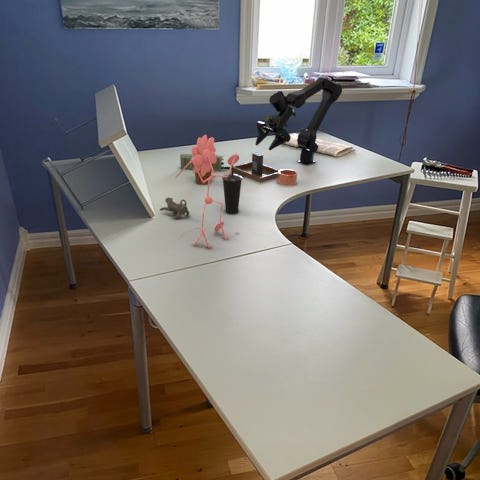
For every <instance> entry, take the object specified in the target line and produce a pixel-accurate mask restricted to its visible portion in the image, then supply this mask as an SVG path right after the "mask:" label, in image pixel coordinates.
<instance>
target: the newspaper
mask: <svg viewBox="0 0 480 480" xmlns="http://www.w3.org/2000/svg"><path fill="white" fill-rule="evenodd" d="M289 134H290V136H291V139H290V141H289V142H286V143H283V144H282V145H288V146H292V147H296V148H298V143H297V138H298V135H299V133H289ZM315 142H316V144H317V145H318V150H317V151H316V152H315V153H321V154H324V155H328V156H331V157H341V156H343V155H346V154H347V153H349V152H351V151H353V150H355V149H354V147H353V146H351V145H346V144H342V143H338V142H334V141H329V140H325V139H321V138H316V141H315Z"/></svg>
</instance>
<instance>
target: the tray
mask: <svg viewBox="0 0 480 480" xmlns="http://www.w3.org/2000/svg"><path fill="white" fill-rule="evenodd" d="M280 170H281V169H280ZM280 170H279V169H278V168H274V167H271V166H269V165H266V164H263V172H262V175H259V176H258V175H255V174H253V173H252V161H249V162H245V163H242V164H238V165H235V166H234V165H233V174H237V175H240V176H241V177H242V178H247V179H249V180H252V181H254V182H257V183H259V184H261V183H265V182H268V181H271V180H275V179H278V173H279V171H280Z"/></svg>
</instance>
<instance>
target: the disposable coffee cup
mask: <svg viewBox="0 0 480 480" xmlns="http://www.w3.org/2000/svg"><path fill="white" fill-rule="evenodd" d="M192 158H193V155H192ZM211 164H212V163H211ZM200 172H201V170H200V171H199V173H200ZM200 175H201V174H200ZM211 176H212V170H211V169H210V172H206V174H205V175H204V176H203V177H202V176H201V177H202V179H203V181H204V180H206V179H207V178H209V177H211ZM194 178H195V183H196V184H198V185H208V181H206V182H204V183H202V181H201V179H200V177H199V175H198V173H197V172H196V173H194Z"/></svg>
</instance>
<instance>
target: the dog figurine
mask: <svg viewBox="0 0 480 480" xmlns="http://www.w3.org/2000/svg"><path fill="white" fill-rule="evenodd" d="M164 202H165V203H166V205H167V207H165V206H164V207H161V208H159V211H160V212H161V211H168V212H172V213H174V214H176V215H175V216H174V217H173V219H174V220H176V219H182V218H183V216H186V217H189V216H190V211H189V210H188V206H187V204H188V203H187V200H186V199H181V200H180V202H179V203H176V202H175V201H174V198H173V197H166V198H165V200H164ZM183 202H184V203H183ZM177 214H178V215H177Z"/></svg>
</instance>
